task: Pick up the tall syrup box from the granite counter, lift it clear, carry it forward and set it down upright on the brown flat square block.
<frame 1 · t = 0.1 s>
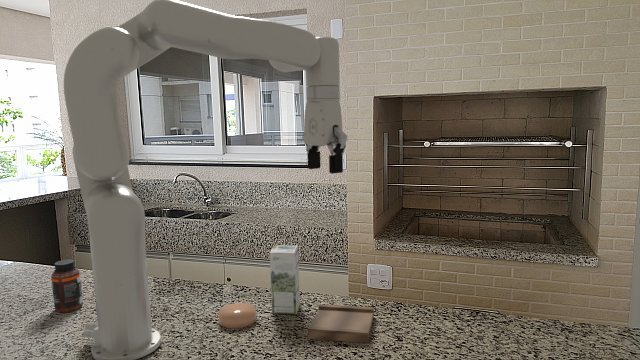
hand: (324, 170, 110), 31 cm above the countertop, tool pointing down, fingers open, 9 cm apart
brown flat square block: (342, 327, 100), on the countertop
supplement bottle: (69, 308, 114), on the countertop
peach smooth rounded part: (237, 321, 105), on the countertop
syrup box: (286, 310, 110), on the countertop
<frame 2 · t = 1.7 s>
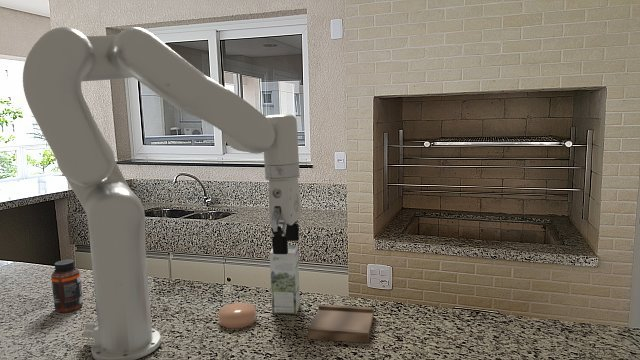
hand: (286, 246, 108), 15 cm above the countertop, tool pointing down, fingers open, 9 cm apart
nothing on the countertop moved.
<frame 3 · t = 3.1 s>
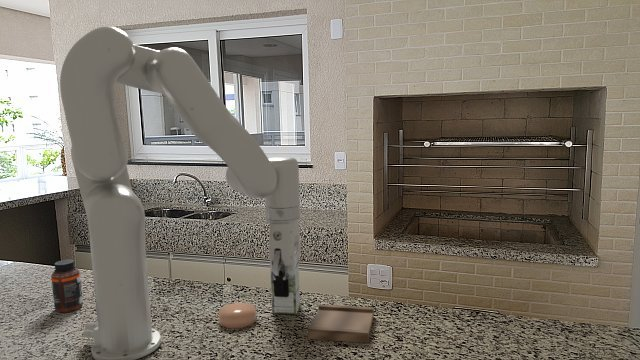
hand: (285, 289, 109), 5 cm above the countertop, tool pointing down, fingers closed on syrup box, 6 cm apart
syrup box: (286, 310, 110), on the countertop, touching gripper
everything else where it was.
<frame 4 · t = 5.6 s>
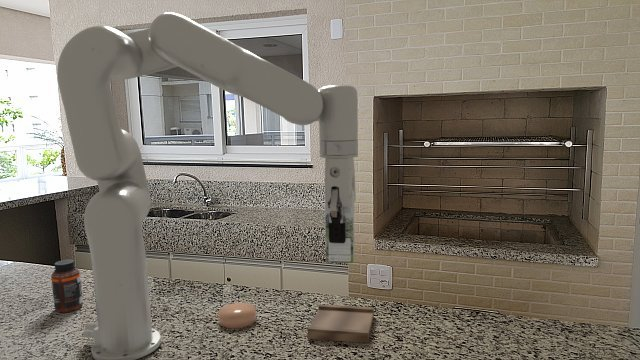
hand: (340, 237, 98), 19 cm above the countertop, tool pointing down, fingers closed on syrup box, 6 cm apart
syrup box: (340, 260, 98), point 15 cm above the countertop, touching gripper
everything else where it was.
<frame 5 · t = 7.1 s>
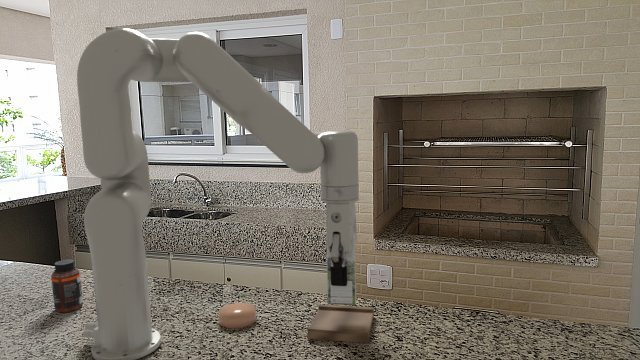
hand: (341, 278, 99), 11 cm above the countertop, tool pointing down, fingers closed on syrup box, 6 cm apart
syrup box: (342, 300, 100), point 6 cm above the countertop, touching gripper
everything else where it was.
when the fingers open (7 cm above the countertop, at t = 8.3 s): syrup box stays where it is, resting on brown flat square block.
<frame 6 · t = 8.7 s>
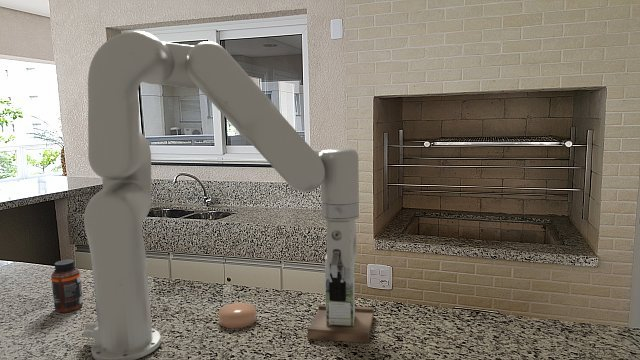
hand: (341, 291, 99), 8 cm above the countertop, tool pointing down, fingers open, 9 cm apart
syrup box: (341, 321, 100), point 1 cm above the countertop, touching brown flat square block
everything else where it was.
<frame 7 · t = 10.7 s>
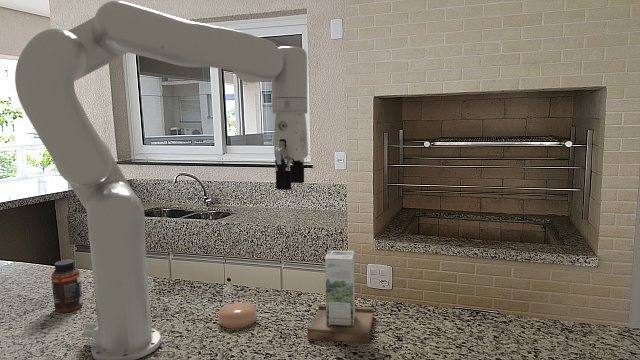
hand: (290, 186, 105), 29 cm above the countertop, tool pointing down, fingers open, 9 cm apart
nothing on the countertop moved.
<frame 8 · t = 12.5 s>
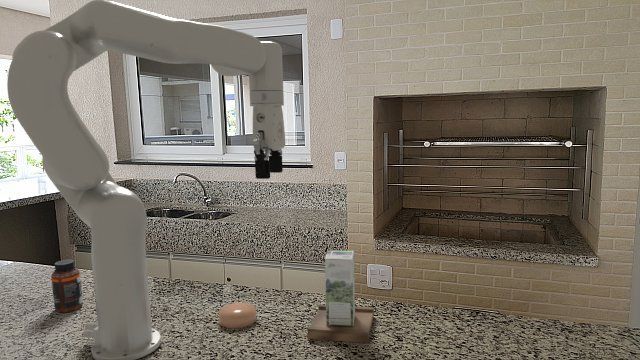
hand: (269, 175, 110), 30 cm above the countertop, tool pointing down, fingers open, 9 cm apart
nothing on the countertop moved.
at the end: syrup box inside the target area on the brown flat square block (0.4 cm from its centre), point 1.3 cm above the brown flat square block's base; syrup box tilted 0°; the gripper is holding nothing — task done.
